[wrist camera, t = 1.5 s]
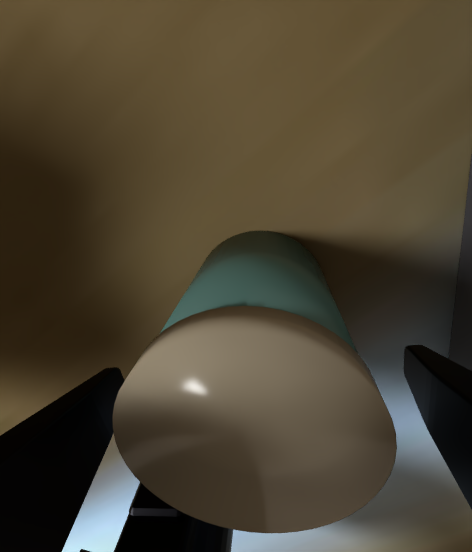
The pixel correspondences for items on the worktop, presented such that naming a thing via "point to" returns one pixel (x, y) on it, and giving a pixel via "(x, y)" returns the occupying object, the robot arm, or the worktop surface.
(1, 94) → the worktop surface
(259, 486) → the teal jar
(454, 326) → the grey open rectangular box
